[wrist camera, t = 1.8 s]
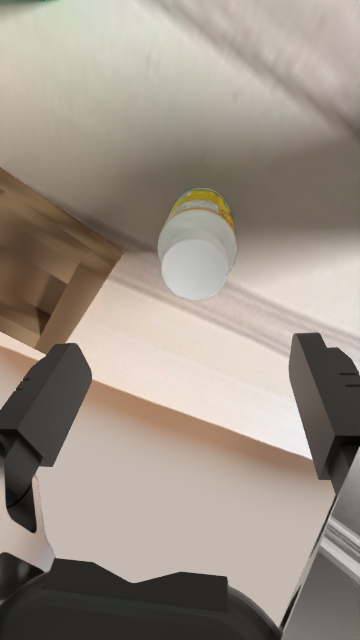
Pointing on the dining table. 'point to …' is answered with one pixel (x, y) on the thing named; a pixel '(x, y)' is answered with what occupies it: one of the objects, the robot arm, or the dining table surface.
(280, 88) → the dining table surface
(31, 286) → the walnut tray
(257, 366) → the dining table surface
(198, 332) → the dining table surface
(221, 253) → the supplement bottle
